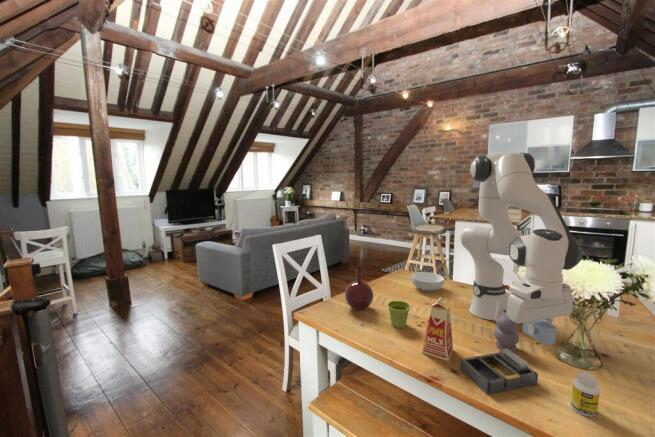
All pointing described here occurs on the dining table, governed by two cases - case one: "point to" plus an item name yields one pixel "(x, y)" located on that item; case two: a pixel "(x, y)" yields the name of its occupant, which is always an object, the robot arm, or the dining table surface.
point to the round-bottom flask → (359, 292)
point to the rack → (499, 371)
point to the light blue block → (542, 332)
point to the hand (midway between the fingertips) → (538, 331)
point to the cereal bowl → (427, 281)
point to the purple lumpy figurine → (506, 333)
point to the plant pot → (398, 313)
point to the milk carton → (438, 332)
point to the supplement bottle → (585, 394)
